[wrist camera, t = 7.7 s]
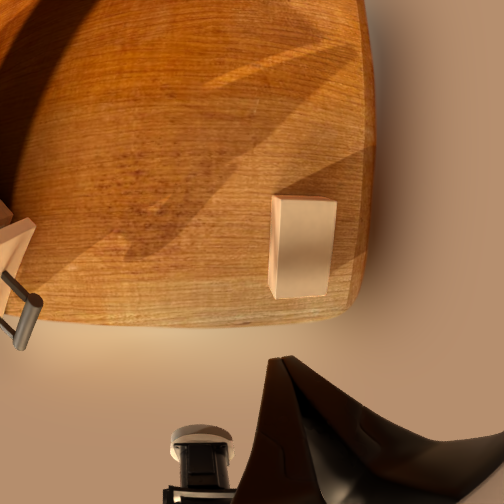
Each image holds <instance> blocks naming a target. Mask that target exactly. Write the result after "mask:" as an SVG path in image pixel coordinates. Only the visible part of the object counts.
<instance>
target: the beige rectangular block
mask: <svg viewBox="0 0 504 504" xmlns="http://www.w3.org/2000/svg"><path fill="white" fill-rule="evenodd" d="M336 211H337V201H335V200H332V199H329V198H326V197H323V196H302V195H272V202H271V226H270V249H269V269H268V286H269V288H270V290H271V292H272V294H273V296H274V298H275V299H287V298H300V297H313V296H325V295H327V289H328V282H329V274H330V267H331V259H332V250H333V241H334V232H335V222H336Z"/></svg>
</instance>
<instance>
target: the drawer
mask: <svg viewBox="0 0 504 504" xmlns="http://www.w3.org/2000/svg"><path fill="white" fill-rule="evenodd" d="M12 217H13V213H12V212H11V211H10V210H9V209H8V208H7V206H6V205H5V204H4V203H3V202H2V201H1V199H0V328H1V329H2V330H3V331H4V332H5V333H6V334H7V335H8V336H9V337H10V338H11V339H13V345H14V347H15V348H16V349H17V350H19V351H24V350H25V349H26V346H27V343H28V340H29V338H30V336H31V333H32V330H33V328H34V325H35V323H36V321H37V318H38V316H39V314H40V311H41V309H42V307H43V300H42V298H41V297H40V296H39V295H38V294H35V293H31V294H29V293H28V292H27V291H26V290H25V289H24V288H23V287H22V286H21V285H20V284H19V283H18V282H17V281H16V280H15V277H16V274H17V271H18V268H19V266H20V263H21V261H22V258H23V256H24V253H25V251H26V249H27V246H28V244H29V242H30V239H31V237H32V235H33V233H34V231H35V229H36V225H35V224H34V223H33V222H32V221H31V220H30V219H29V218H28V217H27V218H25V219H22V220H20V221H18V222H15V223H13V224H11V225H10V222H11V220H12ZM11 289H12V290H13V291H14V292H15V293H16V294H17V295H18V296H19V297H20V298H21V299H22V300H23V301H24V302H26V303H25V305H24V308H23V311H22V314H21V317H20V320H19V323H18V326H17V329H16V331H15V330H13V329H12V328H11V327H10V326H9V325H8V324H7V323H6V322H5V321H4V320H3V319H2V318H3V315H4V311H5V308H6V304H7V301H8V297H9V294H10V291H11Z"/></svg>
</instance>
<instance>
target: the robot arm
mask: <svg viewBox="0 0 504 504" xmlns="http://www.w3.org/2000/svg"><path fill="white" fill-rule="evenodd" d="M173 448H174V451H175V453H176V456H177V458H178V461H179V463H180V487H174V486H170V485H169V489H164V490H163V504H504V431H503V432H501V433H498V434H495V435H491V436H485V437H479V438H473V439H465V440H455V441H444V442H443V441H434V440H430V439H427V438H425V437H422V436H420V435H418V434H415V433H413V432H411V431H409V430H407V429H405V428H403V427H400V426H398V425H396V424H394V423H392V422H390V421H388V420H386V419H385V418H383V417H381V416H379V415H378V414H376V413H374V412H373V411H371V410H370V409H368V408H367V407H365V406H363V405H362V404H361V403H359V402H358V401H356V400H355V399H353V398H352V397H350V396H349V395H347V394H346V393H344V392H343V391H342V390H340V389H339V388H337V387H336V386H334V385H333V384H331V383H330V382H329V381H327V380H326V379H325V378H323V377H322V376H320V375H319V374H318V373H316V372H315V371H313V370H312V369H311V368H309V367H308V366H307V365H305V364H304V363H302V362H301V361H300V360H298V359H297V358H295V357H294V356H285V357H282V358H272V359H269V360H268V365H267V371H266V378H265V384H264V389H263V395H262V401H261V407H260V412H259V417H258V423H257V429H256V433H255V438H254V443H253V447H252V451H251V455H250V457H249V460H248V463H247V466H246V469H245V471H244V473H243V476H242V478H241V481H240V483H239V485H238V488H237V489H230V485H229V478H228V471H227V466H229V454H228V444H227V443H226V442H214V443H174V444H173ZM320 490H321V491H320ZM321 492H322V493H321ZM322 494H323V496H322ZM323 497H324V498H323ZM174 501H175V502H176V503H174Z"/></svg>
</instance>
